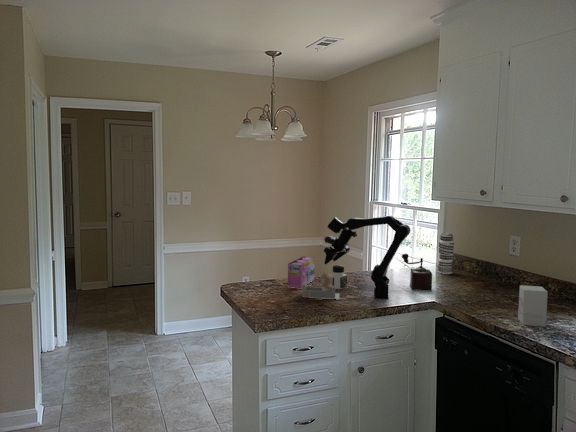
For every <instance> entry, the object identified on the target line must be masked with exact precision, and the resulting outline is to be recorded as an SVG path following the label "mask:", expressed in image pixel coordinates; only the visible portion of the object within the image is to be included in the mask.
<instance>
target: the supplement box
mask: <svg viewBox="0 0 576 432" xmlns="http://www.w3.org/2000/svg"><path fill="white" fill-rule="evenodd" d="M518 292H519V294H518V312H517V319H518V321H519V322H520V323H521V325H523V326H531V327H532V326H533V327H544V328H545V327H547V313H548V312H547V311H548V310H547V309H548V296H549V295H548V293H549V292H548V290H546V289H545V288H544V287H543V286H539V285H538V286H535V285H534V286H533V285H519V291H518Z"/></svg>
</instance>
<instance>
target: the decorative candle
mask: <svg viewBox="0 0 576 432" xmlns="http://www.w3.org/2000/svg"><path fill="white" fill-rule="evenodd" d="M439 236H440V237H439V242H438V247H439V248H438V255H439V258H438V263H437V264H438V267H437V268H438V269H437V270H438V271H437V273H438V272H439V274H441V273H442V275H450V274H453V266H454V265H453V255H454V252H453V251H454V248H455V247H454V245H455V243H454V235H453V234H452V233H451V232H442V233H441V234H440V235H439Z"/></svg>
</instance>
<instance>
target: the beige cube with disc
mask: <svg viewBox="0 0 576 432" xmlns="http://www.w3.org/2000/svg"><path fill="white" fill-rule="evenodd" d="M321 277H322V278H321V287H322V291H332V290H333V286H334V277H333V273H322V276H321Z"/></svg>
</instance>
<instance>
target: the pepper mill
mask: <svg viewBox="0 0 576 432" xmlns="http://www.w3.org/2000/svg"><path fill="white" fill-rule="evenodd" d="M401 259H403V263H405V264H407V265H415V264H420V266H418V267H417V268H411V269H410V280H409V281H410V282H409V287H410V289H411V290H412V291H432V290H433V289H432V287H433V273H432V272H431V270H430V269H428V268H425V267H424V266H423V262H424V258H423V257H420V261H412V262H410V261H409V254H408V253H403V254H402V255H401Z"/></svg>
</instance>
